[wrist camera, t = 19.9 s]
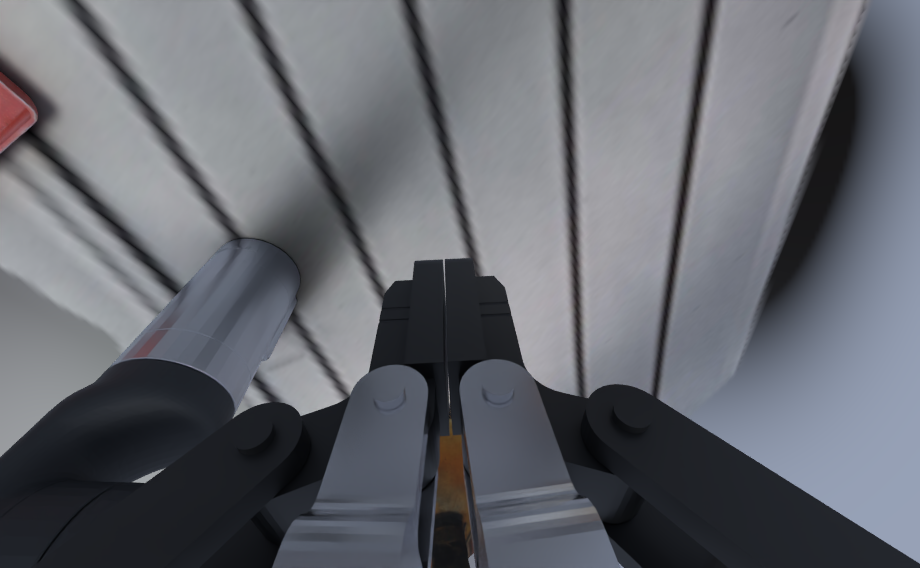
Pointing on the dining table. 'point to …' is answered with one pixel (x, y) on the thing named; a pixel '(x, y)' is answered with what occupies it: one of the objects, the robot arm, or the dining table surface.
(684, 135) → the dining table surface
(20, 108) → the plant saucer
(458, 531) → the ceramic pitcher
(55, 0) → the dining table surface
